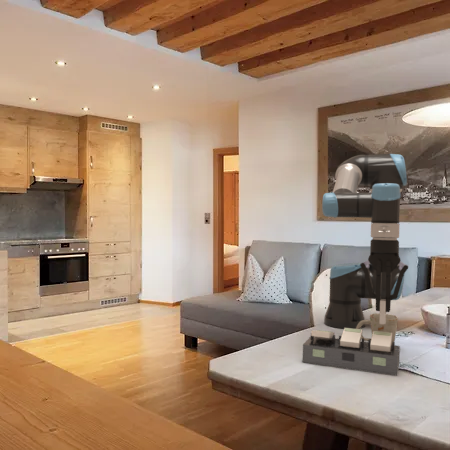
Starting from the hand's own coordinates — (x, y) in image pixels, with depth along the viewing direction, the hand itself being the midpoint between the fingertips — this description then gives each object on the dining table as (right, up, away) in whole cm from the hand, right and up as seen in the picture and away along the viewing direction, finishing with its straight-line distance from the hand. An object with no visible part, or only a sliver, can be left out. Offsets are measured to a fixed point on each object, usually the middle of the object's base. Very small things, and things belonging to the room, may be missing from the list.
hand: (382, 323), depth 130 cm
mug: (+4, -12, +17) cm, 21 cm away
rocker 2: (-9, -4, +1) cm, 10 cm away
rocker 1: (-16, -4, +4) cm, 17 cm away
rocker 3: (-1, -4, -2) cm, 5 cm away
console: (-9, -11, +1) cm, 14 cm away
